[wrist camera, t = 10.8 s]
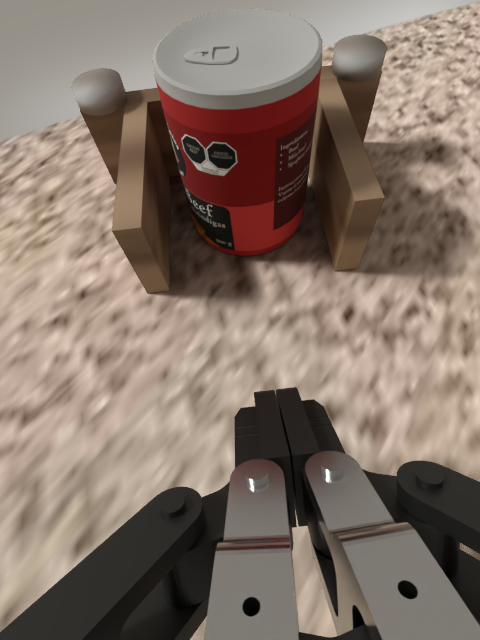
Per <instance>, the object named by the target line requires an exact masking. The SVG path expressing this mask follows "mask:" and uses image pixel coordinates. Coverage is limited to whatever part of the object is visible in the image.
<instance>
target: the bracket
mask: <svg viewBox="0 0 480 640" xmlns="http://www.w3.org/2000/svg"><path fill="white" fill-rule="evenodd" d="M386 49H387V47H386V44H385V43H384V42H383V41H382V40H380V39H378V38H376V37H373V36H368V35H353V36H348V37H345V38H343V39H341V40H339V41H338V42H337V43H336V45H335V48H334V55H333V61H332V65H331V66H323V67H322V68H321V76H320V87H319V96H318V103H317V111H316V119H315V127H314V134H313V142H312V150H311V158H310V166H309V173H308V174H309V178H310V181H311V185H312V188H313V192H314V196H315V199H316V203H317V207H318V210H319V214H320V218H321V221H322V225H323V228H324V232H325V236H326V239H327V243H328V247H329V250H330V254H331V258H332V261H333V265H334V269H335V271H338V270H347V269H355V268H358V267H359V264H360V261H361V259H362V256H363V253H364V251H365V248H366V245H367V243H368V240H369V238H370V235H371V232H372V230H373V227H374V224H375V222H376V219H377V217H378V214H379V211H380V209H381V206H382V203H383V201H384V198H385V197H384V195H383V192H382V190H381V187H380V185H379V182H378V180H377V177H376V175H375V172H374V170H373V167H372V165H371V162H370V160H369V158H368V155H367V153H366V150H365V148H364V145H363V142H364V138H365V134H366V130H367V127H368V123H369V119H370V115H371V111H372V108H373V104H374V100H375V96H376V92H377V89H378V85H379V81H380V77H381V73H382V71H381V69H382V65H383V61H384V57H385V53H386ZM71 90H72V92H73V94H74V96H75V98H76V101H77V103H78V105H79V107H80V112H81V114H82V116H83V118H84V120H85V122H86V124H87V126H88V128H89V130H90V133H91V135H92V137H93V139H94V141H95V143H96V145H97V147H98V149H99V152H100V154H101V156H102V158H103V160H104V162H105V164H106V166H107V168H108V170H109V173H110V175H111V177H112V179H113V181H114V183H115V184H117V187H116V197H115V206H114V216H113V226H112V232H113V234H114V235H115V237H116V239H117V241H118V242H119V244H120V246H121V248H122V249H123V251H124V253H125V255H126V256H127V258H128V260H129V262H130V264H131V265H132V267H133V269H134V271H135V272H136V274H137V276H138V278H139V279H140V281H141V283H142V285H143V286H144V288H145V290H146V292H147V293H154V292H162V291H170V177H174V176H181V175H180V171H179V167H178V163H177V160H176V156H175V152H174V149H173V145H172V141H171V137H170V134H169V130H168V126H167V122H166V119H165V115H164V111H163V108H162V104H161V100H160V95H159V91H158V88H153V89H145V90H137V91H130V92H125V89H124V86H123V83H122V80H121V78H120V75H119V73H118V72H116V71H115V70H112V69H107V68H105V69H104V68H102V69H101V68H100V69H94V70H90V71H87V72H85V73H83V74H81V75H79V76H78V77H77V78H76V79H75V80H74V81H73V82H72V84H71Z"/></svg>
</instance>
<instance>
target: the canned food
mask: <svg viewBox="0 0 480 640" xmlns="http://www.w3.org/2000/svg"><path fill="white" fill-rule="evenodd" d="M152 62H153V66H154V72H155V73H154V75H155V79H156V83H157V87H158V91H159V95H160V100H161V104H162V108H163V111H164V115H165V119H166V122H167V126H168V130H169V134H170V137H171V141H172V145H173V149H174V152H175V156H176V160H177V163H178V167H179V171H180V175H181V178H182V182H183V186H184V189H185V193H186V197H187V201H188V204H189V208H190V212H191V215H192V219H193V222H194V225H195V227H196V229H197V230H198V232H199V234H200V235H201V236H202V237H203V239H204V240H205V241H206V242H207V243H208V244H209V245H211V246H212V247H214V248H216V249H217V250H219V251H222V252H225V253H227V254H232V255H239V256H251V255H259V254H263V253H267V252H270V251H272V250H274V249H276V248H278V247H280V246H281V245H283V244H284V243H286V242H287V241H288V240H289V239H290V238H291V237H292V236H293V234H294V232H295V231H296V229H297V228H298V226H299V224H300V222H301V220H302V217H303V212H304V204H305V197H306V189H307V181H308V173H309V166H310V158H311V150H312V142H313V134H314V127H315V119H316V111H317V103H318V96H319V87H320V76H321V68H322V39H321V37H320V34H319V33H318V31H316V29H315V28H314V27H313V26H312V25H310V24H309V23H307V22H306V21H305V20H303V19H300V18H298V17H296V16H294V15H291V14H287V13H284V12H280V11H275V10H268V9H254V8H249V9H233V10H224V11H220V12H214V13H210V14H207V15H203V16H200V17H197V18H194V19H192V20H190V21H187V22H185V23H183V24H182V25H180V26H178V27H177V28H175V29H173V30H172V31H170V32H169V33H168V34H167V35H165V36H164V37H163V38H162V39H161V41H160V42H159V43H158V44H157V45H156V48H155V50H154V52H153V61H152Z"/></svg>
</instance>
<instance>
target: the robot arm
mask: <svg viewBox="0 0 480 640" xmlns="http://www.w3.org/2000/svg"><path fill="white" fill-rule="evenodd" d="M254 397H255V405H256V406H255V407H246V408H240V410H239V411H238V413H237V414H236V416H235V469H234V471H233V472H232V474H231V477H230V482H229V483H228V484H227V485H226V486H225V487H223V488H222V489H220V490H219V491H217V492H214V493H212V494H209V495H207V496H204V497H202V498H201V496H200V494H199V493H198V492H197V491H195V490H194V489H191V488H188V487H175V488H171V489H168V490H166V491H164V492H162V493H160V494H158V495H157V496H156V497H155V498H153V499H152V500H151V501H150V502H149V503H148V504H147V505H145V506H144V507H143V508H142V509H141V510H140V511H139V512H137V513H136V514H135V515H134V516H133V517H132V518H131V519H129V520H128V521H127V522H126V523H125V524H124V525H123V526H121V527H120V528H119V529H118V530H117V531H116V532H115V533H113V534H112V535H111V536H110V537H109V538H108V539H106V540H105V541H104V542H103V543H102V544H101V545H100V546H98V547H97V548H96V549H95V550H94V551H93V552H92V553H90V554H89V555H88V556H87V557H86V558H85V559H84V560H82V561H81V562H80V563H79V564H78V565H77V566H76V567H74V568H73V569H72V570H71V571H70V572H69V573H68V574H66V575H65V576H64V577H63V578H62V579H61V580H60V581H58V582H57V583H56V584H55V585H54V586H53V587H52V588H50V589H49V590H48V591H47V592H46V593H45V594H44V595H42V596H41V597H40V598H39V599H38V600H37V601H36V602H34V603H33V604H32V605H31V606H30V607H29V608H28V609H26V610H25V611H24V612H23V613H22V614H21V615H19V616H18V617H17V618H16V619H15V620H14V621H13V622H11V623H10V624H9V625H8V626H7V627H6V628H5V629H3V630H2V631H1V632H0V640H190V638H191V637H192V636H193V634H194V633H195V631H196V630H197V629H198V627H199V626H200V624H201V623H202V622H203V620H204V619H205V618H206V616H207V620H206V628H205V635H204V640H480V561H479V560H477V559H476V558H474V557H472V556H470V555H469V554H467V553H465V552H464V551H462V550H460V549H459V547H460V543H462V544H464V545H466V546H467V547H469V548H471V549H473V550H474V551H476V552H478V553H480V482H478V481H476V480H473V479H471V478H469V477H467V476H464V475H462V474H460V473H458V472H455V471H453V470H451V469H448V468H446V467H444V466H442V465H439V464H436V463H433V462H428V461H411V462H408V463H405V464H403V465H402V466H401V467H400V468H399V469H398V472H397V476H391V475H383V474H376V473H372V472H368V471H365V470H363V469H361V467H360V465H359V464H358V462H357V461H356V460H355V459H354V458H352V457H351V456H349V455H347V454H346V453H345V451H344V449H343V447H342V445H341V443H340V441H339V438H338V436H337V434H336V432H335V430H334V428H333V426H332V424H331V421H330V419H329V418H328V415H327V413H326V411H325V409H324V407H323V406H322V405H320V404H319V403H318V402H316V401H315V400H305V401H301V398H300V395H299V393H298V390H297V388H296V387H293V388H285V389H276V395H275V391H274V390H269V391H260V392H254ZM295 510H296V515H297V520H298V524H299V526H308V529H309V533H310V538H311V551H312V556H313V559H314V562H315V565H316V568H317V571H318V574H319V578H320V581H321V584H322V587H323V590H324V593H325V596H326V600H327V603H328V606H329V609H330V612H331V615H332V619H333V622H334V625H335V628H336V632H337V637H332V638H328V637H322V636H317V635H312V634H306V633H301V632H299V624H298V613H297V603H296V592H295V581H294V571H293V560H292V549H293V535H292V527H297V526H296V515H295Z"/></svg>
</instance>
